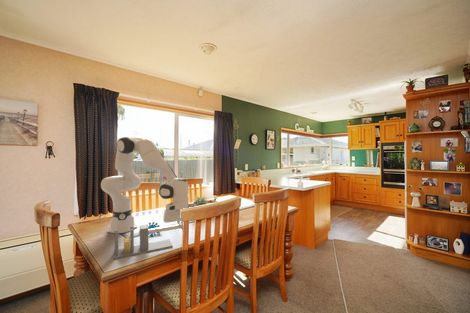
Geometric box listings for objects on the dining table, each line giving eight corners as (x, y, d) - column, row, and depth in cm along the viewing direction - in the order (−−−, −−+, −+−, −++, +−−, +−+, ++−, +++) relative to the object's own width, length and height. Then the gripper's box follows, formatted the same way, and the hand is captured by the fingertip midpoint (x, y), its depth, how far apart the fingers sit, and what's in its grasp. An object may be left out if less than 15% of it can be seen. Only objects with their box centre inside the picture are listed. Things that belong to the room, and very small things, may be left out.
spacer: (123, 249, 119) (123, 238, 119) (129, 248, 120) (129, 237, 120) (124, 254, 113) (123, 242, 113) (130, 252, 115) (130, 241, 115)
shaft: (138, 235, 123) (138, 225, 123) (186, 227, 136) (186, 218, 136) (139, 240, 116) (139, 230, 116) (189, 231, 129) (189, 222, 129)
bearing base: (114, 251, 118) (114, 226, 118) (169, 240, 132) (169, 218, 132) (113, 259, 109) (113, 232, 109) (172, 247, 124) (172, 223, 123)
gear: (142, 235, 137) (145, 221, 144) (142, 239, 141) (146, 225, 148) (160, 236, 140) (162, 222, 147) (160, 239, 144) (162, 225, 151)
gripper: (196, 201, 135) (196, 223, 135) (162, 205, 125) (162, 228, 126) (199, 203, 129) (199, 226, 130) (164, 208, 120) (164, 232, 120)
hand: (181, 227), depth 127 cm, fingers closed
